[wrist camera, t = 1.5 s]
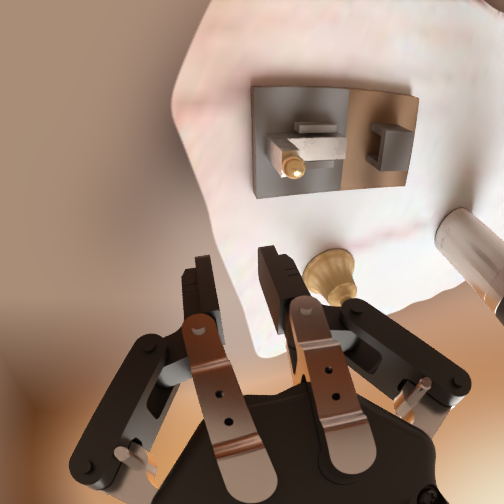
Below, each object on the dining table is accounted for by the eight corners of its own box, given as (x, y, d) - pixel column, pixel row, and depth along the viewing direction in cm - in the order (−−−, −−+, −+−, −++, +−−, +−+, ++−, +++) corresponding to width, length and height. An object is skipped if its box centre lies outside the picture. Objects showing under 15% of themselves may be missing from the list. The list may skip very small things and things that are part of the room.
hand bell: (291, 279, 43) (332, 373, 31) (332, 239, 41) (391, 327, 28) (325, 298, 48) (367, 381, 35) (362, 263, 45) (417, 342, 32)
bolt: (339, 132, 30) (374, 154, 24) (337, 152, 31) (371, 179, 26) (263, 135, 28) (286, 158, 23) (264, 157, 30) (285, 186, 24)
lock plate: (411, 95, 30) (436, 104, 26) (398, 181, 37) (419, 197, 33) (250, 86, 27) (262, 91, 23) (253, 193, 34) (264, 213, 30)
